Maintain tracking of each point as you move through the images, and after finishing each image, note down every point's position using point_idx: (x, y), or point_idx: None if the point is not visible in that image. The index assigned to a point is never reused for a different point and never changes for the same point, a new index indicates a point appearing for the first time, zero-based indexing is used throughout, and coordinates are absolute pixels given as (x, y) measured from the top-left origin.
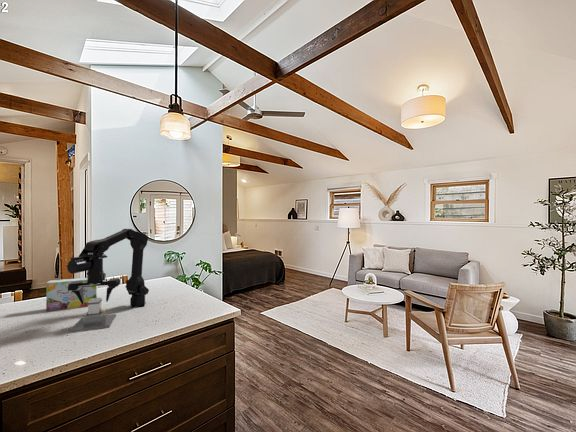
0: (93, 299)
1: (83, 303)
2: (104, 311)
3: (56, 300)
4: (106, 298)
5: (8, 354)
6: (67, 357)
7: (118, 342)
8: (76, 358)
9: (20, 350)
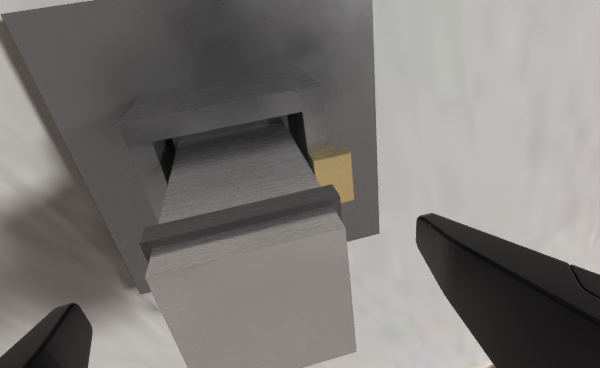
0: (239, 325)
1: (84, 324)
2: (347, 195)
3: None
4: (455, 303)
5: None
6: None
7: (448, 362)
8: None
9: None
